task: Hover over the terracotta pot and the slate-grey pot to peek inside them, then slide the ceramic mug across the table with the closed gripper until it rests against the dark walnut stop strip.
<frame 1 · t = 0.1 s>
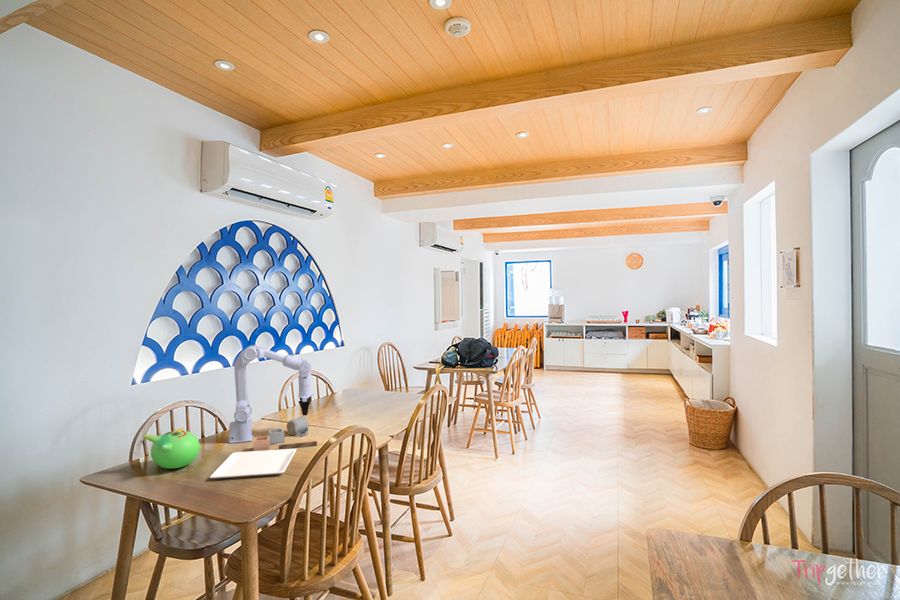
hand: (305, 413, 215), 10 cm above the table, fingers open, 7 cm apart
plate: (256, 467, 175), on the table
slate pot: (276, 441, 204), on the table
green teapot: (174, 467, 174), on the table
walnut stop strip: (298, 447, 195), on the table
terracotta pot: (262, 449, 193), on the table, touching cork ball
ceramic mug: (299, 434, 215), on the table
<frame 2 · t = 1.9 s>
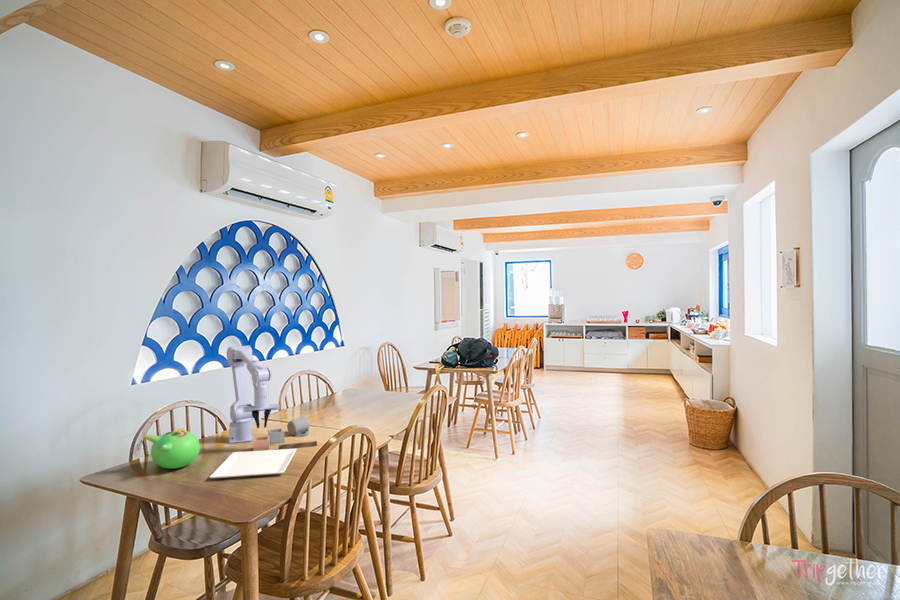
hand: (261, 427, 193), 10 cm above the table, fingers closed
nothing on the table moved.
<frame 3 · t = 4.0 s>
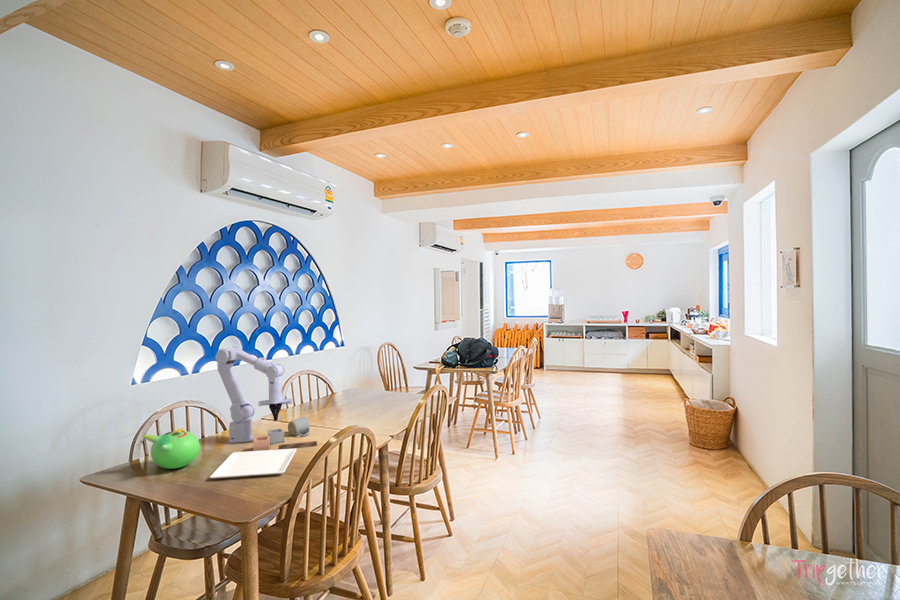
hand: (275, 420, 204), 10 cm above the table, fingers closed
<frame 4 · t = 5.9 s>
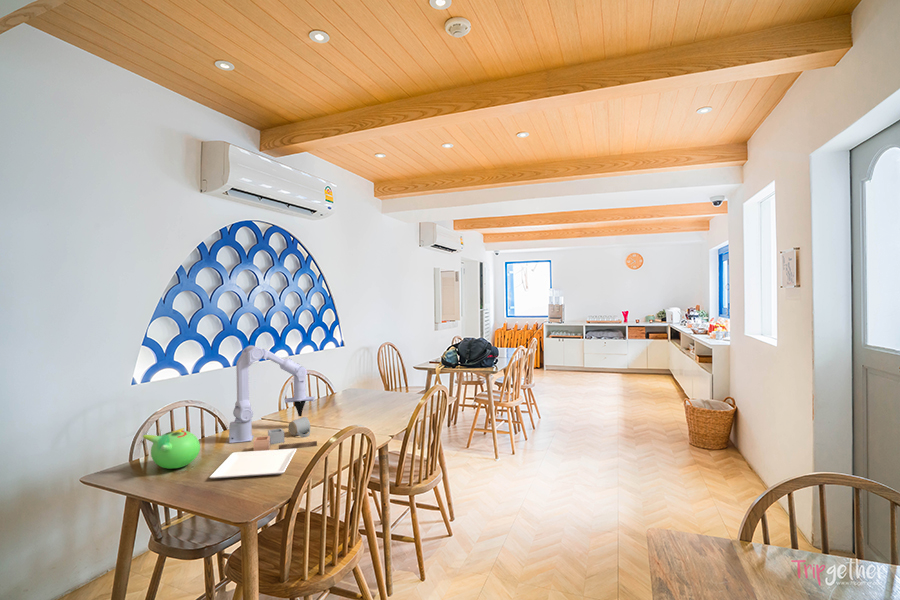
hand: (300, 415, 225), 6 cm above the table, fingers closed
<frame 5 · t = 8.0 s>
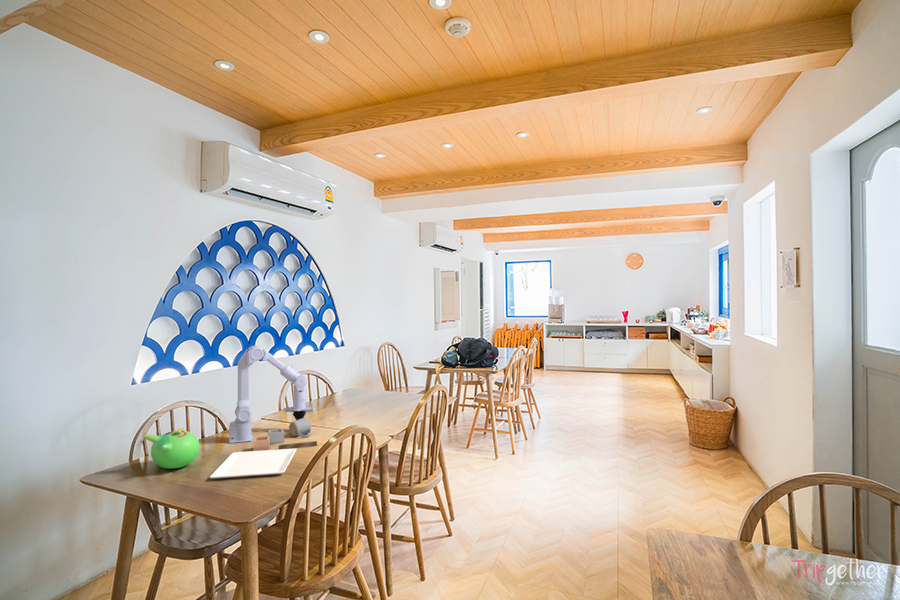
hand: (299, 426, 220), 2 cm above the table, fingers closed
ceramic mug: (302, 435, 213), on the table
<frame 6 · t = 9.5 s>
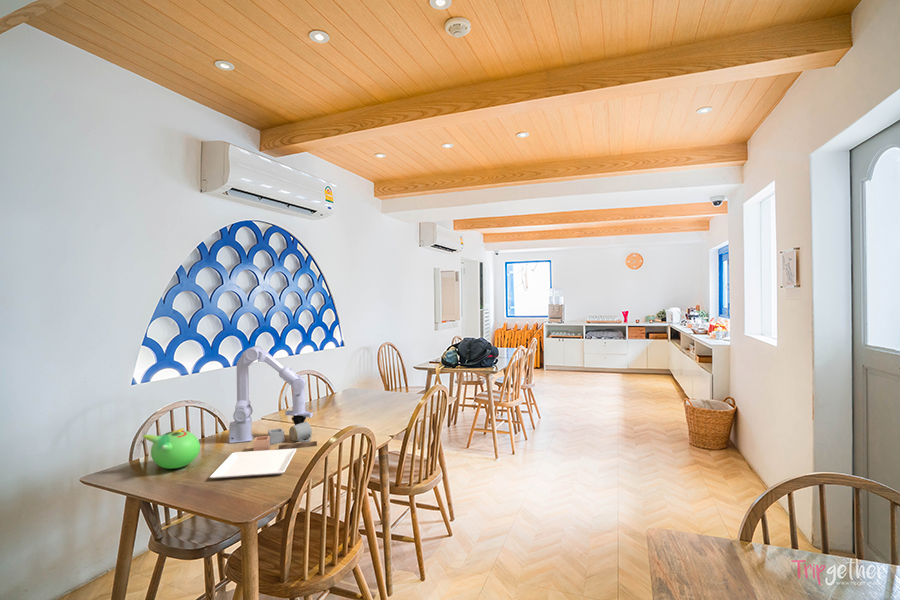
hand: (299, 431, 212), 2 cm above the table, fingers closed
ceramic mug: (302, 440, 205), on the table, touching gripper
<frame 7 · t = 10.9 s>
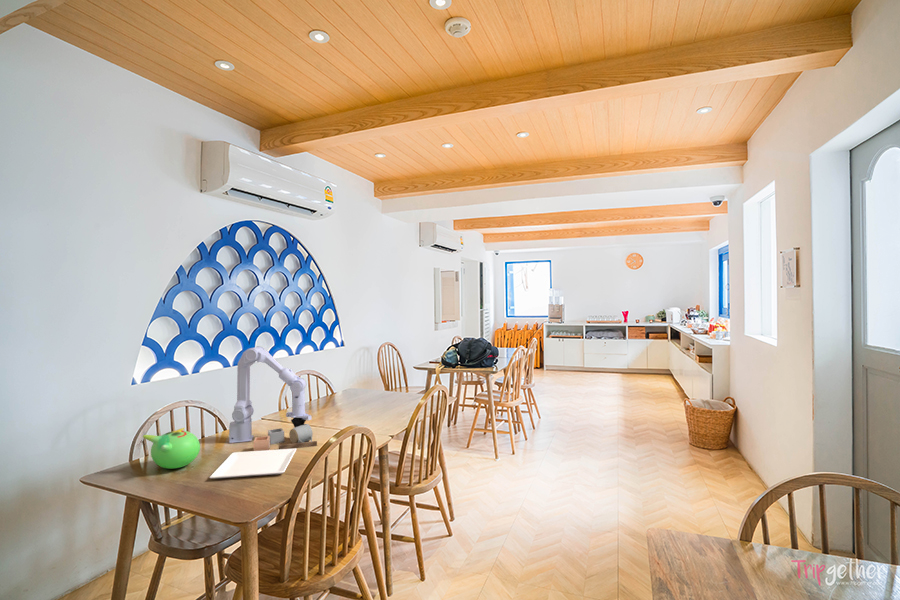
hand: (298, 433, 208), 2 cm above the table, fingers closed
ceramic mug: (303, 443, 202), on the table, touching gripper
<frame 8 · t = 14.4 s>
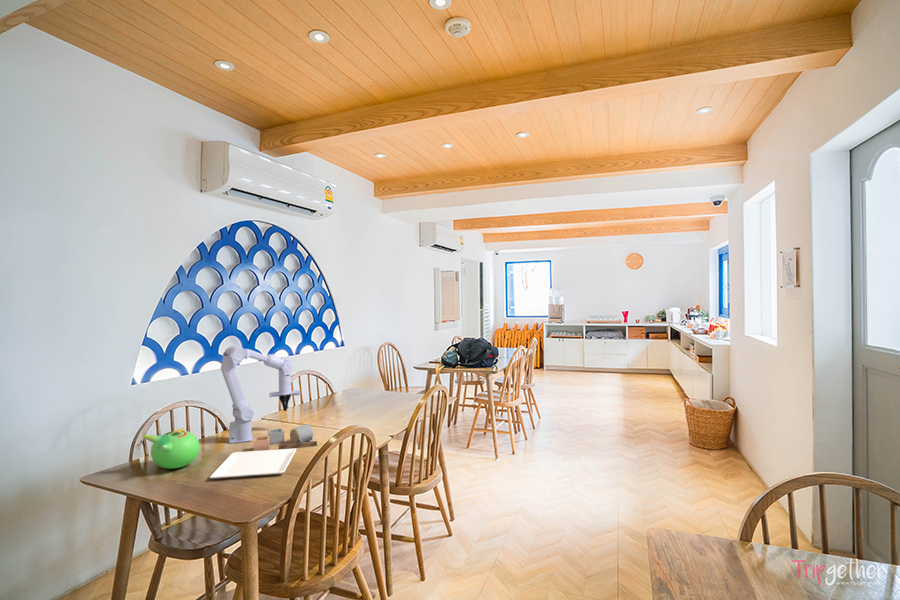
hand: (285, 410, 222), 10 cm above the table, fingers closed
ceramic mug: (303, 443, 202), on the table
everything else where it was.
at the end: ceramic mug inside the target area (2.3 cm from its centre), on the table; ceramic mug moved 15.1 cm from its start; ceramic mug tilted 0° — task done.
